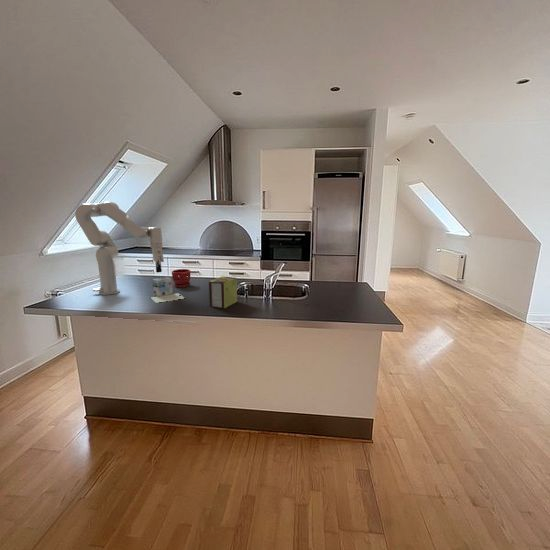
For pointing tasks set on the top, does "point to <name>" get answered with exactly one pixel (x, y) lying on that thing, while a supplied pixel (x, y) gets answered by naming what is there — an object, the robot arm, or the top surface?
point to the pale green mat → (166, 298)
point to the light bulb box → (162, 286)
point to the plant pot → (181, 277)
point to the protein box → (223, 291)
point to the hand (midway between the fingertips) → (159, 272)
